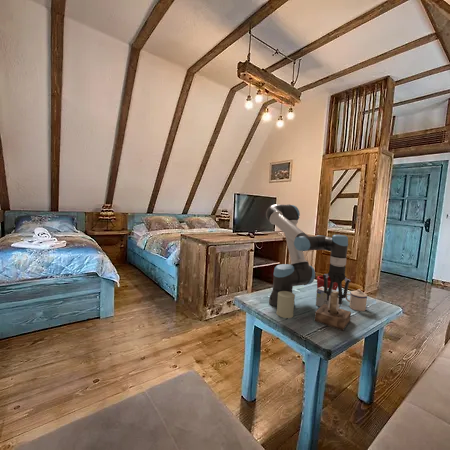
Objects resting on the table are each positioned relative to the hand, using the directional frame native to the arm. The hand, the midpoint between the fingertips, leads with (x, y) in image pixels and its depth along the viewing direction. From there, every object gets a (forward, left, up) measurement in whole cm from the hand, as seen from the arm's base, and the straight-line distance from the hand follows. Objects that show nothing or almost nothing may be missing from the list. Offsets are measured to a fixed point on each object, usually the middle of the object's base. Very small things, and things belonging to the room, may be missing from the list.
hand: (333, 308), depth 129 cm
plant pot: (-14, +35, -7) cm, 38 cm away
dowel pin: (0, 0, -4) cm, 4 cm away
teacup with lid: (+5, +28, -7) cm, 29 cm away
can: (-22, -11, -7) cm, 26 cm away
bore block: (0, 0, -7) cm, 7 cm away
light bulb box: (-8, +16, -7) cm, 19 cm away
